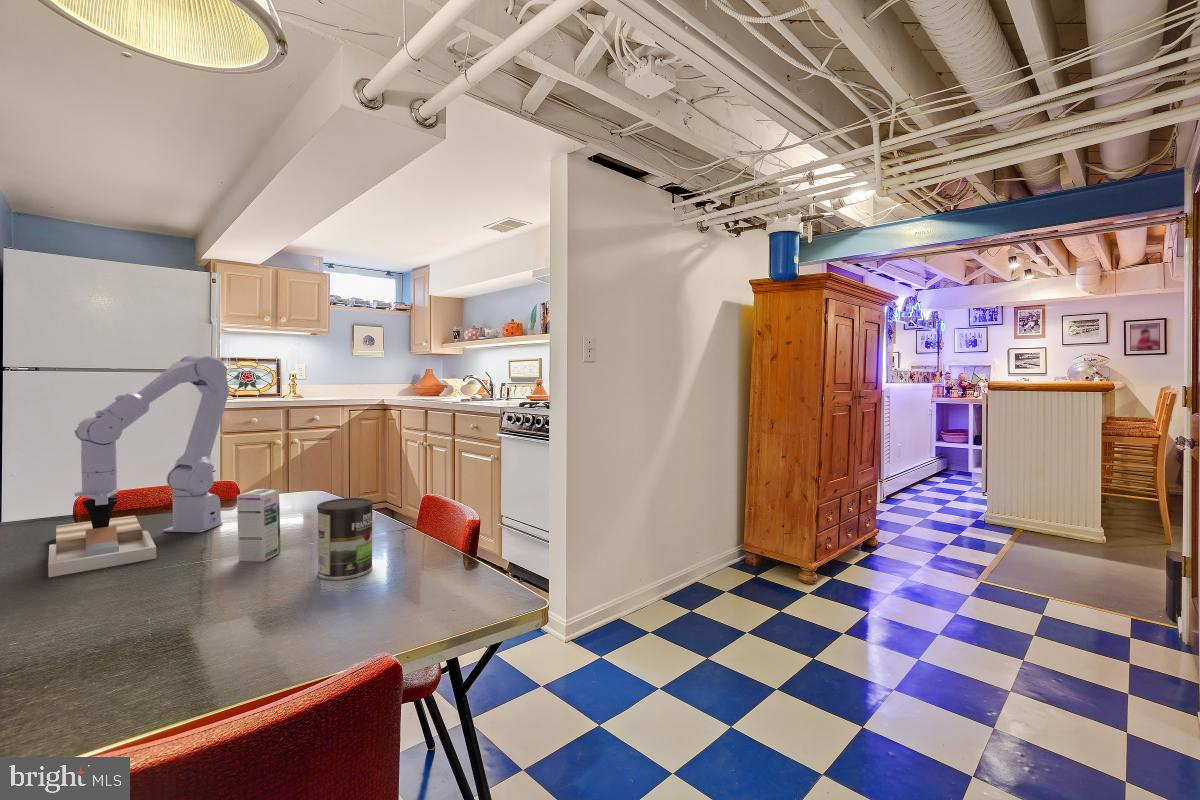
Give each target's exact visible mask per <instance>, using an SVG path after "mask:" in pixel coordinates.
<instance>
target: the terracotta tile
mask: <svg viewBox="0 0 1200 800" xmlns="http://www.w3.org/2000/svg"><path fill="white" fill-rule="evenodd" d="M85 538H86V545H92V544H99V543H105V542H112V541H118V539H117V528H116V526H110V527H103V528H96V529H88V530H85Z"/></svg>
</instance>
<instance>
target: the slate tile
mask: <svg viewBox="0 0 1200 800" xmlns="http://www.w3.org/2000/svg"><path fill="white" fill-rule="evenodd" d="M114 552H119V545H118V541H112V542H105V543H99V544H92V545H86V557H90V556H96V555H102V554H108V553H114Z"/></svg>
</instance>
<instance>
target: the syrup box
mask: <svg viewBox="0 0 1200 800" xmlns="http://www.w3.org/2000/svg"><path fill="white" fill-rule="evenodd" d="M236 507H237V508H236V511H237V517H236V518H237V541H238V542H237V543H238V544H237V548H238V549H237V550H238V552H237V553H238V561H240V562H252V563H254V562H257V563H260V562H261V563H264V562H266V561H267V560H269V559H271V558H273V557H275V556H277V555H279V554H280V553H281V551H282V549H281V519H280V518H281V517H280V516H281V515H280V513H281V512H280V490H279V489H276V488H275V489H273V488H258V489H254V490H253V489H252V490H250V491H247V492H244V493H241V494H237V495H236Z"/></svg>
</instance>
